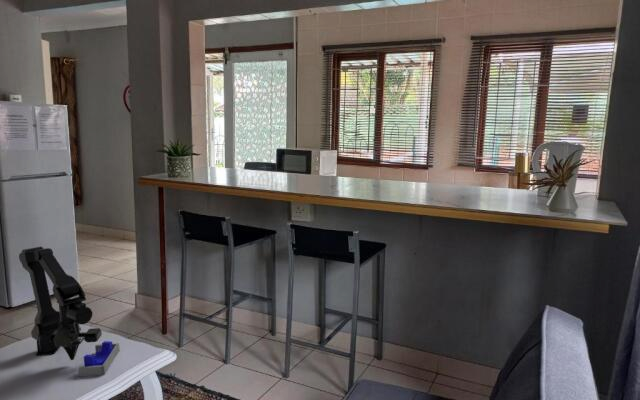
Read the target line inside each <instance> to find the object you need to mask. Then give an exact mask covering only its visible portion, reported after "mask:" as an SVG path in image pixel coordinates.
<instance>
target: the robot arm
mask: <svg viewBox="0 0 640 400" xmlns="http://www.w3.org/2000/svg"><path fill="white" fill-rule="evenodd" d="M18 254H19V255H18V259H19V261H20V264H21V266H22V267H23V269H24V270H25V271H27V272H28V274H29V277H30V282H31V287H32V290H33V295H34V300H35V304H36V310H37V313H36V315H35V318H34V326H33V328H32V330H31V331H30V333H31V334H30V335H31V337H32V339H34V340H36V349H37V350H36V351H37V352H36V353H35V354H34V355H35V356H44V355H54V354H56V352H58V350H59V349H60V348H63V350H65V352H66V354H67V356H68V357H69V359H70V361H73V360H75V358H76V356H77V352H78V349H79V346H80V345H81V344H82V343H83V341H85V342H86V343H95V342H98V341H99V339H100V338H101V337H102V335H103V334H102V333H103V332H102V330H101V328H100V327H95V328H89V329H88V330H87V331H86V332H84V331H83V332H82V327H80V325H85V324H87V323H89V322H90V321H91V320H92V318H93V311H92V309H91V308H90V307H88V306H87V304H86V303H85V302H84V301H86V300H87V298H86V293H85V292H84V290H83V288H82V286H81V283H79V282H78V281H77V280H76V278H75V277H73V276H72V275H69V274H67V273H66V272H65V270H64V269H63V267H62V266H61V264H60V262H59V261H58V260H57V258H56V257H55V256H54V251H53V249H52V248H49V247H46V248H44V247H43V246H35V247H30V248H25V249H22V250H21V252H20V253H18ZM46 275H47V276H46ZM47 277H48V278H49V279H50V282H51V283H52V285H53V286H52V293H53V296H54V298H55V299H56V304H58V310H56V309H55V308H54V307H53V304H52V298H51V295H50V289H49V285H48V281H47Z"/></svg>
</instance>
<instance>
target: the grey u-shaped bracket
mask: <svg viewBox="0 0 640 400" xmlns="http://www.w3.org/2000/svg"><path fill="white" fill-rule="evenodd" d="M94 346H95V348H94V350H95V354H96V353H97V352H98V351H99V350H100V349H102V343H99V344H95V345H94ZM112 346H113V350H112V352H111V353H110V355H109V356H108V358H107V359H106V361H105V362H104V364H103V365H100V366H86V367H84V366H78V367H77V370H78V377H79V378H80V377H89V376H90V377H92V376H106V374H107V372H108V370H109V368H110V367H111V365H112V364H113V363H114V361H115V359H116V358H117V356H118V354H119V353H120V352H121V351H120V343H119V342H117V343H112Z"/></svg>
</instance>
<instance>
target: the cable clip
mask: <svg viewBox="0 0 640 400" xmlns="http://www.w3.org/2000/svg"><path fill="white" fill-rule="evenodd" d="M101 344H102V349H100V350H99V351H98V352H97V353H96V352H95V354H94V355H93V354H86V355H84V356H83V364H84V366H83V367H86V366H100V365H103V364H104V362H105V361H106V359H107V358H108V356H109V355H110V353H111V352H112V350H113V346H112V344H113V341H109V340H107V341H106V340H105V341H103V342H102V343H101Z"/></svg>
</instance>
